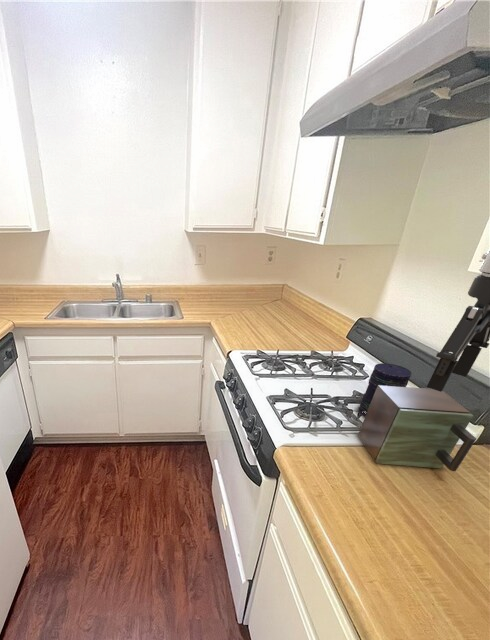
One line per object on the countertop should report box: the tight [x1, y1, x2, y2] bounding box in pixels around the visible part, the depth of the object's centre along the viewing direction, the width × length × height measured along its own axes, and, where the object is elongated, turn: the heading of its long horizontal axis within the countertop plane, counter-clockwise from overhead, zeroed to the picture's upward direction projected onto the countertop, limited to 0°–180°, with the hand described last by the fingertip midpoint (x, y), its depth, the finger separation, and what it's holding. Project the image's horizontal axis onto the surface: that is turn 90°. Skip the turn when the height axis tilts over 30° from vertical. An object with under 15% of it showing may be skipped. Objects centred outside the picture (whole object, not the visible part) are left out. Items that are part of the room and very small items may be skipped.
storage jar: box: [357, 362, 413, 418], centre depth 106 cm, size 10×10×15 cm
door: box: [374, 409, 477, 472], centre depth 81 cm, size 7×16×16 cm, turn 84°
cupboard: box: [357, 385, 471, 462], centre depth 89 cm, size 12×16×16 cm
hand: (447, 381), depth 75 cm, fingers open, 13 cm apart
